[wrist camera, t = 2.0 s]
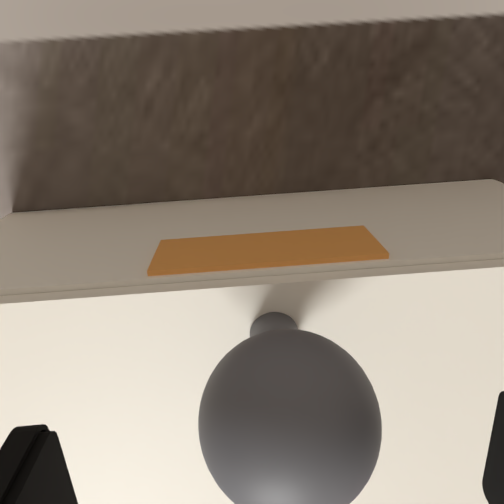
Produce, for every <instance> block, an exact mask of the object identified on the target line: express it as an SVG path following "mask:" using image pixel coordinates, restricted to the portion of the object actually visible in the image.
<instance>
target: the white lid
mask: <svg viewBox="0 0 504 504" xmlns="http://www.w3.org/2000/svg"><path fill="white" fill-rule="evenodd" d="M501 391H504V259H495V260H482V261H468V262H454V263H441V264H427V265H414V266H400V267H386V268H373V269H359V270H346V271H332V272H318V273H305V274H291V275H278V276H264V277H250V278H237V279H223V280H210V281H196V282H182V283H169V284H155V285H142V286H128V287H114V288H101V289H87V290H74V291H60V292H46V293H33V294H19V295H6V296H0V448H1V447H2V445H3V443H4V442H5V440H6V438H7V437H8V435H9V433H10V432H11V431H12V429H13V428H15V427H17V426H28V425H40V424H46V425H47V426H48V428H49V430H50V431H55V432H57V435H58V438H59V441H60V444H61V448H62V451H63V454H64V458H65V461H66V465H67V468H68V471H69V475H70V478H71V481H72V485H73V488H74V491H75V495H76V498H77V502H78V504H489V503H488V501H487V499H486V498H485V495H484V492H483V488H482V479H483V474H484V469H485V464H486V458H487V453H488V448H489V443H490V437H491V432H492V427H493V422H494V417H495V411H496V406H497V401H498V396H499V393H500V392H501Z"/></svg>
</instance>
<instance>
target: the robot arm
mask: <svg viewBox="0 0 504 504" xmlns="http://www.w3.org/2000/svg"><path fill="white" fill-rule="evenodd" d="M482 488H483V492H484V495H485V498H486V499H487V501H488V503H489V504H504V391H501V392H500V393H499V396H498V401H497V406H496V411H495V417H494V422H493V427H492V432H491V437H490V443H489V448H488V453H487V458H486V464H485V469H484V474H483V479H482ZM0 504H78V502H77V498H76V495H75V491H74V488H73V485H72V481H71V478H70V475H69V471H68V468H67V465H66V461H65V458H64V454H63V451H62V448H61V444H60V441H59V438H58V435H57V432H55V431H50V430H49V428H48V426H47V425H46V424H40V425H28V426H17V427H15V428H13V429H12V431H11V432H10V433H9V435H8V437H7V438H6V440H5V442H4V443H3V445H2V447H1V448H0Z"/></svg>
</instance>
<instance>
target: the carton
mask: <svg viewBox="0 0 504 504" xmlns="http://www.w3.org/2000/svg"><path fill="white" fill-rule="evenodd" d="M495 259H504V183H502V182H499V181H496V180H494V179H484V180H470V181H456V182H441V183H427V184H413V185H399V186H384V187H370V188H356V189H341V190H327V191H313V192H299V193H284V194H270V195H256V196H241V197H227V198H213V199H199V200H184V201H170V202H156V203H141V204H127V205H113V206H99V207H84V208H70V209H56V210H41V211H27V212H13V213H10V214H9V215H7V216H5V217H4V218H2V219H0V296H6V295H19V294H33V293H46V292H60V291H74V290H87V289H101V288H114V287H128V286H142V285H155V284H169V283H182V282H196V281H210V280H223V279H237V278H250V277H264V276H278V275H291V274H305V273H318V272H332V271H346V270H359V269H373V268H386V267H400V266H414V265H427V264H441V263H454V262H468V261H482V260H495Z"/></svg>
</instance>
